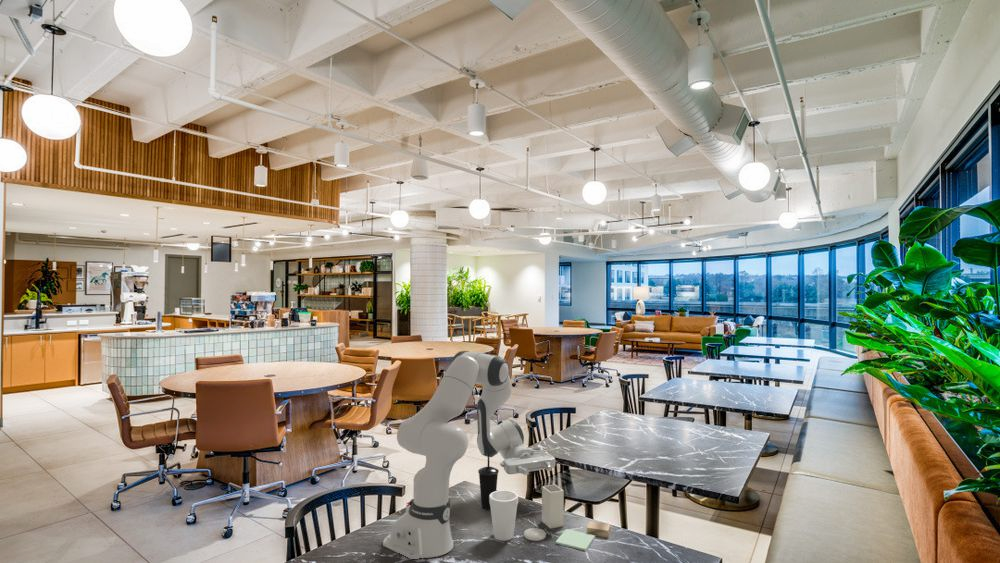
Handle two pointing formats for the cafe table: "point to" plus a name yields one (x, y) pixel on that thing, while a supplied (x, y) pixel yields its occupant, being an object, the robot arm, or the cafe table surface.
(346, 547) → the cafe table surface
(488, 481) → the drinking cup
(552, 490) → the canister
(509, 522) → the foam cup
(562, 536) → the mat
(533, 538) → the white pebble stone
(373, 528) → the cafe table surface
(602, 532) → the oak block
